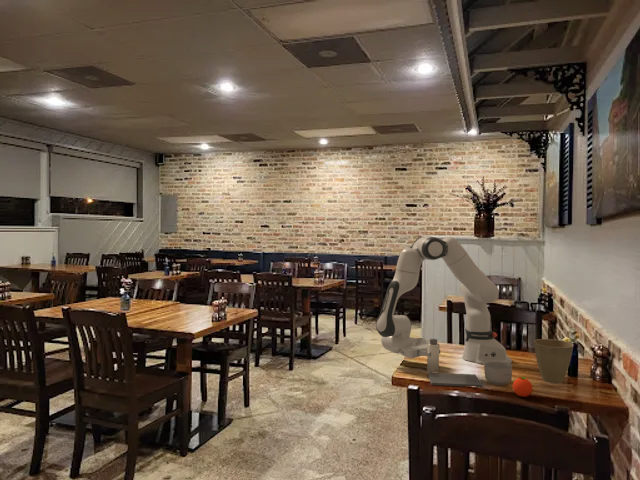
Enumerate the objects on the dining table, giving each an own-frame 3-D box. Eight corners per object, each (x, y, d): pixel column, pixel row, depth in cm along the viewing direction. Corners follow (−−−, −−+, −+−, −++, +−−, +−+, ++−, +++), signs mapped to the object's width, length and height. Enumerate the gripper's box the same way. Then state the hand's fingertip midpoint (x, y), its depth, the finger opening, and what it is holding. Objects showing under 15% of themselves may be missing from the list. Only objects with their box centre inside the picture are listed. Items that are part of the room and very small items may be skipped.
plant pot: (526, 375, 211) (527, 338, 211) (559, 375, 212) (560, 338, 212) (544, 386, 196) (545, 347, 196) (580, 386, 197) (581, 347, 197)
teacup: (508, 389, 193) (509, 369, 193) (480, 384, 199) (481, 364, 198) (515, 380, 205) (515, 361, 204) (488, 375, 210) (489, 357, 210)
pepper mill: (438, 369, 218) (438, 338, 218) (439, 372, 213) (440, 341, 213) (426, 369, 219) (427, 338, 219) (427, 372, 214) (428, 340, 214)
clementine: (515, 391, 190) (516, 373, 190) (534, 394, 186) (535, 376, 186) (510, 396, 184) (510, 378, 184) (530, 400, 180) (530, 381, 180)
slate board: (475, 376, 208) (475, 374, 208) (482, 387, 195) (482, 384, 194) (427, 374, 211) (427, 372, 211) (431, 385, 197) (431, 382, 197)
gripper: (395, 343, 220) (419, 349, 209) (424, 337, 232) (449, 343, 222) (395, 357, 220) (419, 364, 209) (424, 350, 233) (448, 356, 222)
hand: (434, 353), depth 215 cm, fingers closed on pepper mill, 5 cm apart
